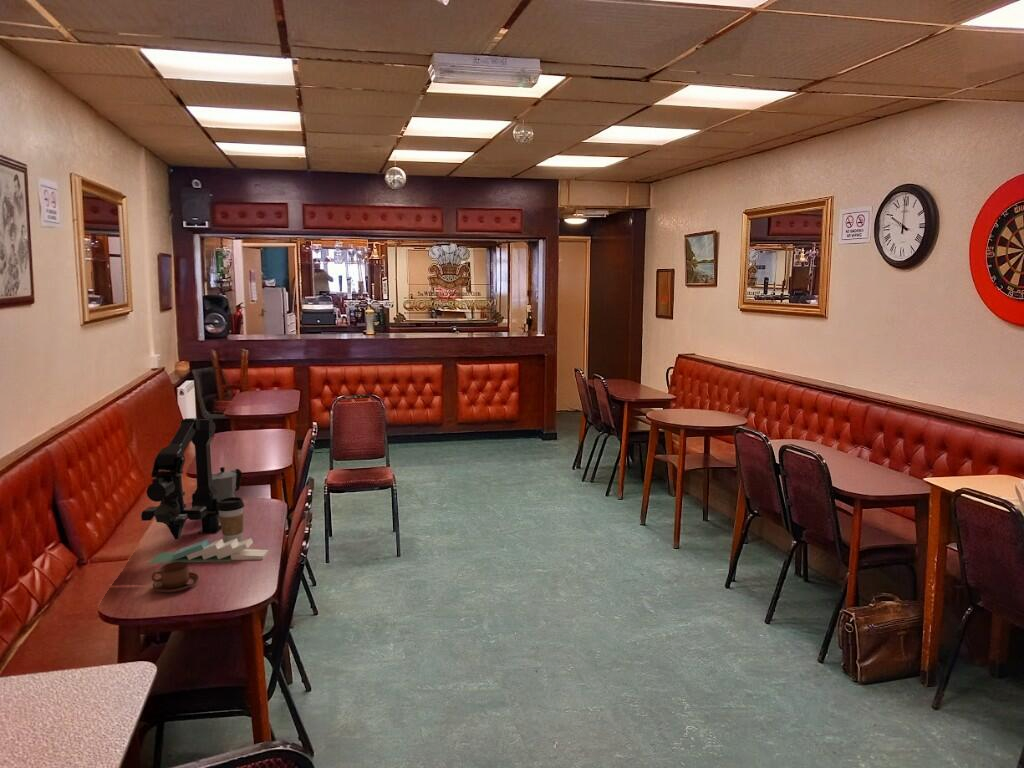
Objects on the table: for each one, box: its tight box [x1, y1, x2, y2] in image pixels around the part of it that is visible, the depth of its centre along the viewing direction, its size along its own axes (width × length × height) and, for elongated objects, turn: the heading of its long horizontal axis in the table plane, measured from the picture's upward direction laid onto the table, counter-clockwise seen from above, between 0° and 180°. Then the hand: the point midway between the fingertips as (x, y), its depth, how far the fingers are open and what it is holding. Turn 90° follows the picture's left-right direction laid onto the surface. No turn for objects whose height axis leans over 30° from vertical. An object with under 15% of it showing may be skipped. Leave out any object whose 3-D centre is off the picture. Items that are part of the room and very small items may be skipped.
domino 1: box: [172, 538, 211, 560], centre depth 230 cm, size 5×2×10 cm
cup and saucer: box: [150, 562, 199, 593], centre depth 210 cm, size 12×12×6 cm
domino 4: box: [216, 537, 254, 560], centre depth 230 cm, size 5×2×10 cm
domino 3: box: [202, 538, 239, 560], centre depth 230 cm, size 5×2×10 cm
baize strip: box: [148, 551, 232, 564], centre depth 231 cm, size 8×26×1 cm, turn 89°
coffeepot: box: [212, 467, 243, 517], centre depth 272 cm, size 15×9×18 cm, turn 154°
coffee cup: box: [217, 496, 245, 543], centre depth 242 cm, size 8×8×15 cm
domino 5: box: [231, 548, 269, 561], centre depth 230 cm, size 5×2×10 cm
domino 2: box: [187, 538, 224, 560], centre depth 230 cm, size 5×2×10 cm
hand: (177, 539), depth 230 cm, fingers closed
